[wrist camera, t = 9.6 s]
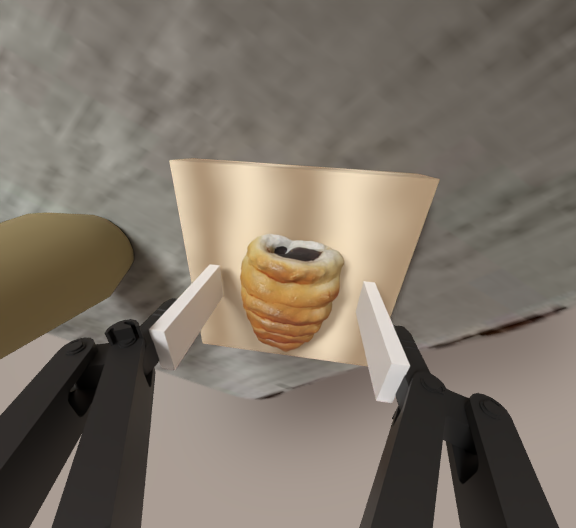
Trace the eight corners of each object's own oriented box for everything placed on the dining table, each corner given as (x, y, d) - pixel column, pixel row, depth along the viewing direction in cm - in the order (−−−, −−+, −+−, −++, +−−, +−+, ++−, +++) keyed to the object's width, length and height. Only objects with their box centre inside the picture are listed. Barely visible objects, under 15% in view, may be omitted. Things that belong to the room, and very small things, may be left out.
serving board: (215, 321, 24) (202, 343, 21) (193, 158, 16) (169, 160, 14) (365, 341, 22) (372, 367, 20) (418, 173, 15) (439, 179, 12)
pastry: (318, 340, 19) (318, 381, 16) (243, 325, 19) (227, 362, 16) (346, 242, 15) (353, 269, 11) (248, 225, 15) (227, 247, 12)
